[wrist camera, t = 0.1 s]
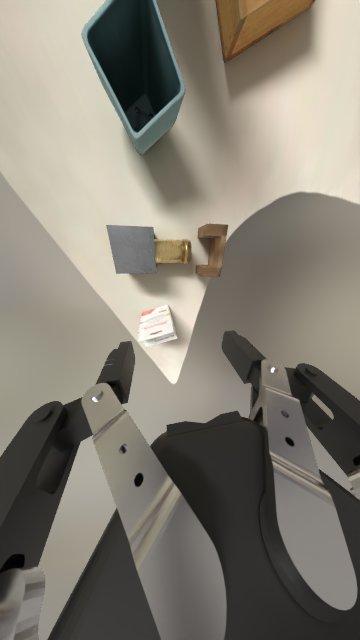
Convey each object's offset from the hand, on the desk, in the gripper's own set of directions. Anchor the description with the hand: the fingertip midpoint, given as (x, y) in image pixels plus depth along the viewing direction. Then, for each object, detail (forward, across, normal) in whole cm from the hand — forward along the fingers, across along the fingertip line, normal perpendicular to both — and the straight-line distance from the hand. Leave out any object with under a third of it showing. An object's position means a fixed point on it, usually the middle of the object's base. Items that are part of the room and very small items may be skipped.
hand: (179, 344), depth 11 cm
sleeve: (+29, +6, -7) cm, 30 cm away
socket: (+29, -12, -6) cm, 32 cm away
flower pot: (+29, +2, -27) cm, 40 cm away
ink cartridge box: (+29, +2, +11) cm, 31 cm away
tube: (+29, +2, -7) cm, 30 cm away
